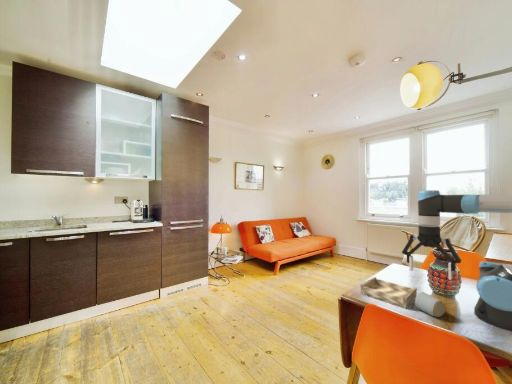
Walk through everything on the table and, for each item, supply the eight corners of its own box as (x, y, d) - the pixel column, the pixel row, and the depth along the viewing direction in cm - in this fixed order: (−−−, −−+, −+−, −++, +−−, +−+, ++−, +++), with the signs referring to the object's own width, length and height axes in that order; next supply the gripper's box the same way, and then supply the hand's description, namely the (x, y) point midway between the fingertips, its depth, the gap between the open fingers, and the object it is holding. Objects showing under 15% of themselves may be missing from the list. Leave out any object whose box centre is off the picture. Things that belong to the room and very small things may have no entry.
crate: (416, 297, 110) (416, 288, 110) (405, 309, 99) (405, 298, 99) (374, 285, 125) (374, 276, 125) (360, 293, 114) (360, 284, 114)
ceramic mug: (434, 320, 90) (434, 301, 90) (414, 310, 98) (414, 292, 98) (451, 315, 94) (451, 297, 94) (430, 306, 101) (430, 289, 101)
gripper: (469, 227, 89) (470, 280, 89) (399, 222, 108) (399, 265, 108) (467, 229, 85) (468, 285, 84) (393, 223, 104) (394, 269, 103)
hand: (429, 274), depth 96 cm, fingers open, 13 cm apart
